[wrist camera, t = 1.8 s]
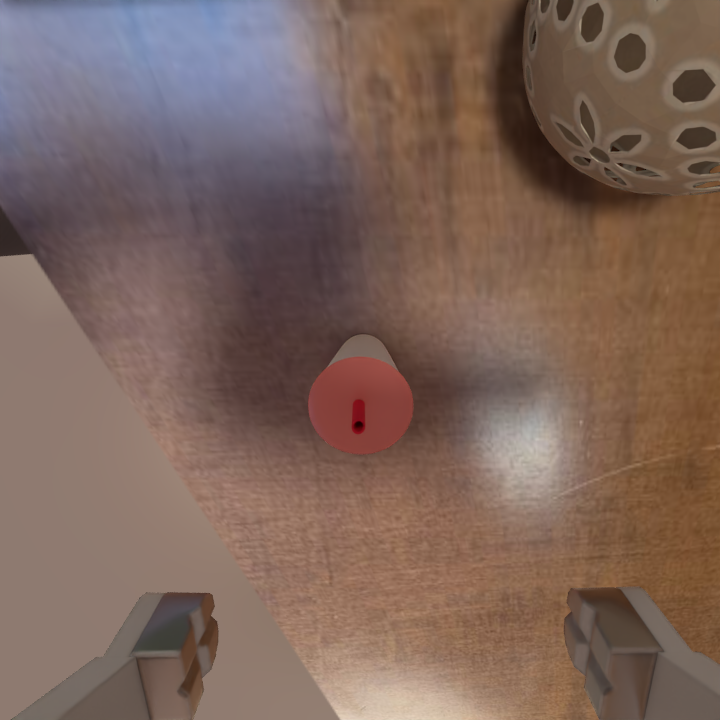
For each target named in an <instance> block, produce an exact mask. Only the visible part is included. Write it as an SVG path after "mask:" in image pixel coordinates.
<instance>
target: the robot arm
mask: <svg viewBox="0 0 720 720" xmlns="http://www.w3.org/2000/svg"><path fill="white" fill-rule="evenodd" d="M567 604H568V606H569V608H570V610H571V612H570V613H569V614H568V615H567V616H566V617H565V620H564V636H565V643H566V647H567V650H568V653H569V656H570V658H571V661H572V663H573V665H574V667H575V668H576V669H578V670H579V671H580V672H581V673H582V674H584V675H585V676H586V677H585V684H584V689H585V691H586V693H587V695H588V697H589V699H590V701H591V703H592V705H593V707H594V710H595V712H596V714H597V716H598V718H599V720H720V664H718V663H716V662H715V661H713V660H712V659H710V658H709V657H707V656H705V655H704V654H702V653H701V652H692V650H691V649H690V648H689V647H688V645H687V644H686V643H685V641H684V640H683V639H682V638H681V636H680V635H679V634H678V632H677V631H676V630H675V628H674V627H673V626H672V625H671V623H670V622H669V621H668V619H667V618H666V617H665V616H664V614H663V613H662V612H661V610H660V609H659V608H658V606H657V605H656V604H655V603H654V601H653V600H652V599H651V597H650V596H649V595H648V594H647V592H646V591H645V590H644V589H642V588H641V587H616V588H614V587H607V588H571V589H570V591H569V592H568V596H567ZM214 607H215V606H214V600H213V595H212V594H210V593H175V592H174V593H173V592H170V593H169V592H168V593H145V594H144V595H142V596H141V597H140V598H139V600H138V601H137V603H136V605H135V606H134V608H133V609H132V611H131V613H130V614H129V616H128V617H127V619H126V620H125V622H124V624H123V626H122V627H121V629H120V630H119V632H118V634H117V635H116V637H115V638H114V640H113V642H112V643H111V645H110V646H109V648H108V650H107V651H106V653H105V654H104V656H103V657H96V658H94V659H93V660H91V661H90V662H89V663H87V664H86V665H85V666H83V667H82V668H80V669H79V670H78V671H76V672H75V673H74V674H72V675H71V676H70V677H68V678H67V679H66V680H64V681H63V682H62V683H60V684H59V685H58V686H56V687H55V688H53V689H52V690H51V691H49V692H48V693H46V694H45V695H44V696H42V697H41V698H40V699H38V700H37V701H36V702H34V703H33V704H32V705H30V706H29V707H27V708H26V709H25V710H24V711H22V712H21V713H19V714H18V715H17V716H15V717H14V718H12V719H11V720H193V719H194V716H195V713H196V711H197V707H198V705H199V702H200V699H201V697H202V694H203V691H204V688H203V681H202V678H203V677H204V676H205V675H206V674H207V673H208V672H209V671H210V670H211V668H212V666H213V663H214V660H215V657H216V651H217V646H218V625H217V621H216V620H215V619H214V618H213V617H212V616H211V614H212V611H213V609H214Z"/></svg>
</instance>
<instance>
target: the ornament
mask: <svg viewBox="0 0 720 720" xmlns="http://www.w3.org/2000/svg"><path fill="white" fill-rule="evenodd" d="M535 29H536V40H535V43H534V44H532V41H533V36H534V32H535ZM522 64H523V74H524V82H525V88H526V92H527V97H528V101H529V104H530V107H531V110H532V113H533V115H534V117H535V119H536V122H537V124H538V126H539V128H540V130H541V131H542V133H543V134H544V136H545V137H546V138H547V140H548V141H549V143H550V144H551V145H552V146H553V147H554V149H555V150H556V151H557V152H558V153H559V154H560V155H561V156H562V157H563V158H564V159H565V160H566V161H567V162H568V163H569V164H570V165H572V166H573V167H575V168H576V169H577V170H579V171H580V172H582V173H584V174H586V175H588V176H589V177H591V178H593V179H595V180H598V181H600V182H602V183H604V184H607V185H609V186H611V187H614V188H617V189H621V190H626V191H631V192H635V193H643V194H652V195H669V196H673V195H700V194H708V193H714V192H720V185H719V186H715V187H708V188H695V187H696V186H699V185H701V184H704V183H707V182H713V181H720V172H719V173H712V174H711V173H709V171H710V170H711V169H712V168H714V167H716V166H718V165H720V0H533V5H532V0H529V1H528V4H527V8H526V12H525V24H524V38H523V56H522ZM527 65H528V66H527ZM526 73H527V79H526ZM530 74H531V79H530ZM531 83H532V86H531ZM612 146H614V147H615V148H617V149H618V150H620V151H619V152H611V149H612ZM583 157H585V158H589V159H591V162H590V163H589V162H588V161H586V160H585V159H584V158H583ZM616 163H623V167H621V166H619V165H617V164H616ZM637 166H639V167H642V168H644V169H646V170H642V171H636V167H637ZM605 167H606V168H608V169H610V170H611V171H606V170H604V168H605ZM653 175H660V176H653ZM649 176H653V177H649ZM610 177H612V178H618V179H617V181H614V180H613V179H611V178H610ZM709 191H713V192H709ZM695 192H706V193H697V194H689V193H695Z"/></svg>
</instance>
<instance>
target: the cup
mask: <svg viewBox="0 0 720 720" xmlns="http://www.w3.org/2000/svg"><path fill="white" fill-rule="evenodd" d="M308 411H309V416H310V420H311V422H312V425H313V427H314V428H315V430H316V432H317V433H318V434H319V435H320V437H321V438H322V439H323V440H324V441H326V442H327V443H328V444H330V445H331V446H333V447H334V448H336V449H338V450H341V451H344V452H347V453H352V454H371V453H375V452H379V451H382V450H384V449H386V448H388V447H390V446H391V445H393V444H394V443H395V442H397V441H398V440H399V439H400V438H401V437H402V436H403V434H404V433H405V432H406V430H407V428H408V427H409V424H410V422H411V419H412V415H413V397H412V393H411V390H410V387H409V385H408V383H407V382H406V380H405V379H404V377H403V376H402V375H401V374H400V373H399V371H398V369H397V367H396V366H395V364H394V362H393V360H392V358H391V356H390V355H389V353H388V351H387V349H386V348H385V346H384V344H383V343H382V342H381V341H380V340H379V339H377V338H376V337H374V336H371V335H367V334H360V335H356V336H353V337H351V338H349V339H348V340H347V341H346V342H345V343H344V344H343V346H342V347H341V348H340V349H339V351H338V352H337V354H336V355H335V357H334V358H333V359H332V361H331V362H330V364H329V365H328V367H327V368H326V369H325V370H324V371H323V372H322V373H321V374H320V375H319V376H318V377H317V379H316V380H315V382H314V383H313V385H312V388H311V390H310V394H309V399H308Z"/></svg>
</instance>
